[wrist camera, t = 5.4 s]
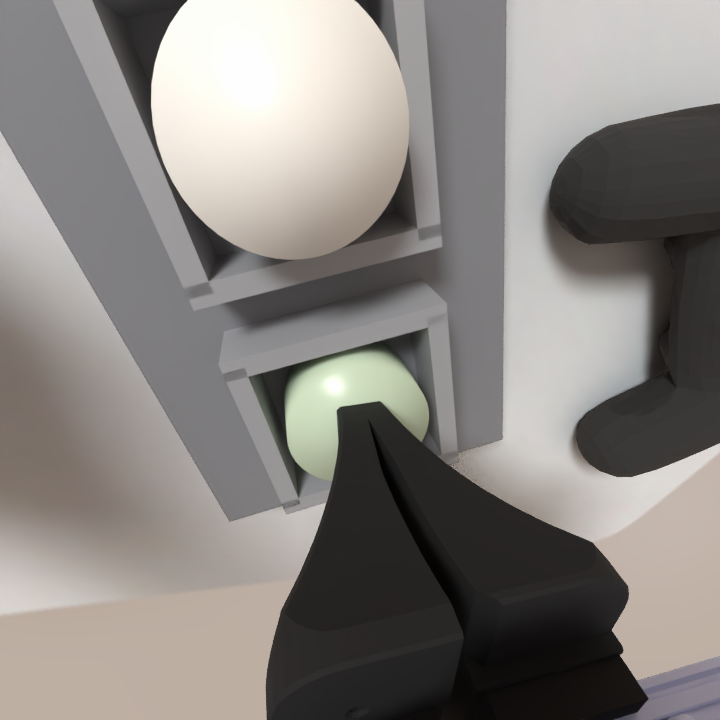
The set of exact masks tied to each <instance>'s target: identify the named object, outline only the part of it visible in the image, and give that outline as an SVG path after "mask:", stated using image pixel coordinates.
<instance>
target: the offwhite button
mask: <svg viewBox="0 0 720 720" xmlns="http://www.w3.org/2000/svg"><path fill="white" fill-rule="evenodd" d="M151 110H152V120H153V127H154V132H155V136H156V141H157V145H158V148H159V151H160V154H161V157H162V160H163V163H164V165H165V167H166V170H167V172H168V174H169V176H170V178H171V180H172V182H173V184H174V185H175V187H176V188H177V190H178V192H179V193H180V195H181V197H182V198H183V199H184V201H185V202H186V203H187V204H188V206H189V207H190V208H191V209H192V211H193V212H194V213H195V214H196V215H197V216H198V217H199V218H200V219H201V220H202V221H203V222H204V223H205V224H206V225H207V226H208V227H209V228H211V229H212V230H213V231H214V232H216V233H217V234H218V235H219V236H221V237H223V238H224V239H226V240H227V241H229V242H231V243H232V244H234V245H236V246H238V247H240V248H242V249H244V250H247V251H249V252H252V253H255V254H258V255H261V256H266V257H270V258H275V259H287V260H297V259H308V258H314V257H319V256H322V255H325V254H328V253H331V252H334V251H336V250H338V249H340V248H342V247H344V246H346V245H348V244H349V243H351V242H352V241H354V240H356V239H357V238H358V237H360V236H361V235H362V234H363V233H364V232H365V231H367V230H368V229H369V228H370V227H371V226H372V225H373V224H374V222H375V221H376V220H377V219H378V218H379V217H380V215H381V214H382V213H383V211H384V210H385V208H386V207H387V206H388V204H389V202H390V200H391V198H392V197H393V195H394V193H395V191H396V188H397V186H398V183H399V181H400V179H401V176H402V172H403V169H404V165H405V162H406V156H407V150H408V143H409V108H408V102H407V96H406V90H405V86H404V82H403V79H402V75H401V71H400V69H399V66H398V64H397V61H396V59H395V56H394V54H393V52H392V50H391V48H390V46H389V44H388V42H387V40H386V39H385V37H384V35H383V34H382V32H381V31H380V29H379V28H378V26H377V25H376V24H375V22H374V21H373V19H372V18H371V17H370V16H369V15H368V14H367V13H366V11H365V10H364V9H363V8H362V7H361V6H360V5H359V4H358V3H357V2H356V1H355V0H188V1H187V2H186V3H185V4H184V5H183V6H182V7H181V8H180V10H179V11H178V13H177V14H176V16H175V17H174V19H173V20H172V22H171V23H170V25H169V27H168V29H167V31H166V33H165V35H164V37H163V40H162V42H161V44H160V48H159V51H158V54H157V58H156V61H155V65H154V71H153V78H152V86H151Z"/></svg>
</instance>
